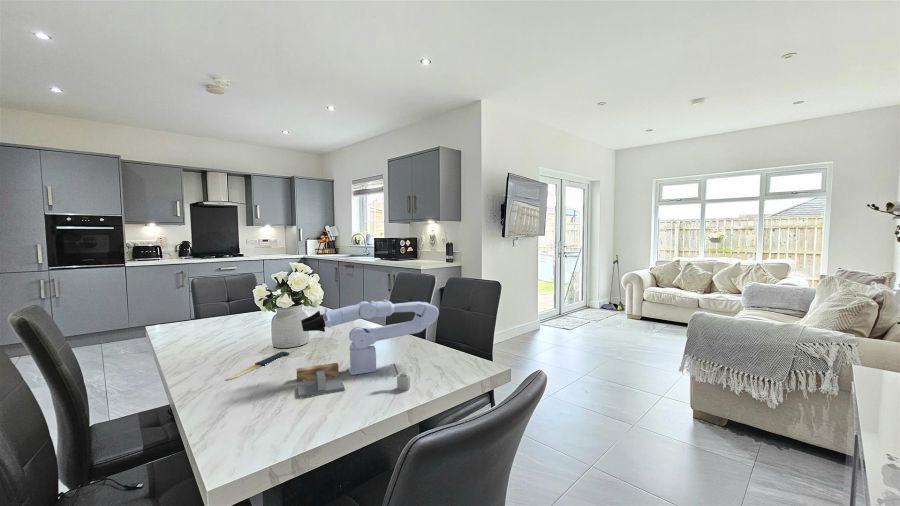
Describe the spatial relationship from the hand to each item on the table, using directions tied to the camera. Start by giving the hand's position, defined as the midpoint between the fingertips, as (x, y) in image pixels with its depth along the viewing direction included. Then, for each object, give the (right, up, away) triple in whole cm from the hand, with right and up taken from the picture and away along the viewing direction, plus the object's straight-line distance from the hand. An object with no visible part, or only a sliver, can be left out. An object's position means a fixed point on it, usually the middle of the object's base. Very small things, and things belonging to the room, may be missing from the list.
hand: (301, 325), depth 130 cm
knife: (-23, -20, +15) cm, 33 cm away
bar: (+5, -19, +3) cm, 20 cm away
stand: (+10, -20, -8) cm, 23 cm away
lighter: (+36, -20, -7) cm, 41 cm away
